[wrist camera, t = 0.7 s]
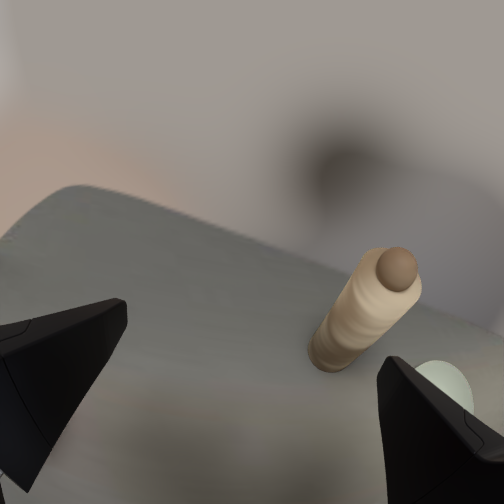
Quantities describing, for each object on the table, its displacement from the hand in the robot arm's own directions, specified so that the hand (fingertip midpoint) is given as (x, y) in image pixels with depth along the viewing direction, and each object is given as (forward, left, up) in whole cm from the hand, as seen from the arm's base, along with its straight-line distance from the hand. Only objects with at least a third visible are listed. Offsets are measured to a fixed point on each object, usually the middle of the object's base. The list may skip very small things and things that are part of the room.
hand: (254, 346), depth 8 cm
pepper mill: (+3, -10, -15) cm, 19 cm away
